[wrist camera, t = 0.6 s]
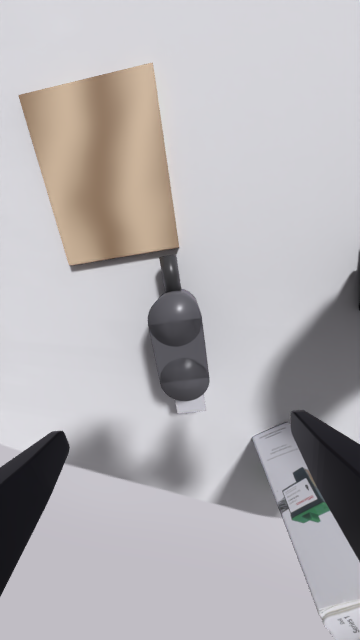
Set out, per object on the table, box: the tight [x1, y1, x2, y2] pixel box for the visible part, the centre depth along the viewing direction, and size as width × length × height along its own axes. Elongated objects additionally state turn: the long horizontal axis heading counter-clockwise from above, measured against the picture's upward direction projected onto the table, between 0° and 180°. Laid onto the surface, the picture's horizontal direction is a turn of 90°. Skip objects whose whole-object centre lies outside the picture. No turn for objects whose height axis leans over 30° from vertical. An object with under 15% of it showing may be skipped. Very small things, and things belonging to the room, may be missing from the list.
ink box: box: [252, 422, 360, 640], centre depth 16 cm, size 9×5×12 cm, turn 32°
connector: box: [148, 255, 209, 414], centre depth 16 cm, size 4×15×4 cm, turn 9°
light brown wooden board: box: [19, 63, 179, 265], centre depth 15 cm, size 10×12×1 cm
